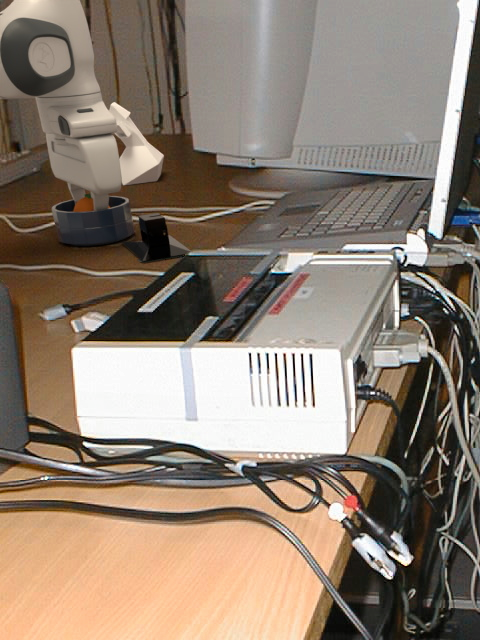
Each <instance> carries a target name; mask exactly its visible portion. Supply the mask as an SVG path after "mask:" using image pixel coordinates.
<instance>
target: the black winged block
mask: <svg viewBox="0 0 480 640" xmlns="http://www.w3.org/2000/svg"><path fill="white" fill-rule="evenodd" d="M137 217H138V225H139V231H140V236H141V238H139V239H134V240H128V241H126V240H125V241H122V245H123V246H124V247H125V248H126V249H127V250H128V251H129V252H130V253H132V254H133V256H135V257H136V259H137V261H138V262H139V263H141V264H147V263H154V262H160V261H165V259H166V260H171V258H172V259H177V257H178V258H183V257H182V256H183V255H185V254H186V253H187V252H189V251H191V249H190V248H188V247H186V246H185V245H184V244H183V243H181V242H180V241H178V240H177V239H175V238H174V236H172V235H170V234H169V231H168V225H167V222H166V217H165V216H164V215H161V214H160V213H159V212H155V213H148V214H142V215H138V216H137ZM179 256H180V257H179ZM159 260H160V261H159Z"/></svg>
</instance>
